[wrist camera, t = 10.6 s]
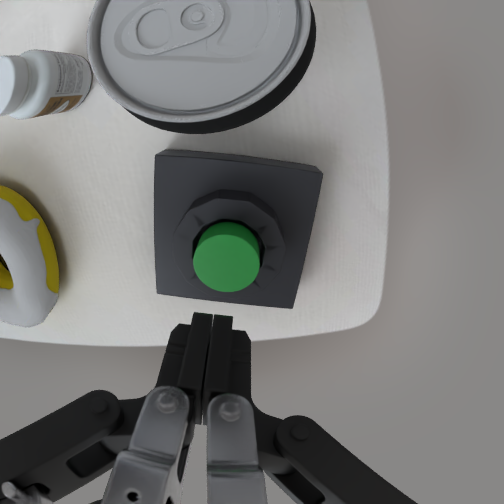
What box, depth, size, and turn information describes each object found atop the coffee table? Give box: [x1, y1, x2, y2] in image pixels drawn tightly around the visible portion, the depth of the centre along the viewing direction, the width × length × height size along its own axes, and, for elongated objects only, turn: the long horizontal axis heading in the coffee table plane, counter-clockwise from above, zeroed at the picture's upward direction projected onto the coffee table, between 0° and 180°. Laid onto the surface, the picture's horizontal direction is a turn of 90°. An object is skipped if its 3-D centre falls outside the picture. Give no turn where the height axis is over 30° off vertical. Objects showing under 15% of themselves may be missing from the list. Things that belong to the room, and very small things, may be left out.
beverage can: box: [87, 0, 316, 134], centre depth 10 cm, size 7×7×12 cm
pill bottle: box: [0, 50, 91, 119], centre depth 12 cm, size 4×4×8 cm
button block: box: [154, 150, 323, 309], centre depth 19 cm, size 10×10×4 cm
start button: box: [193, 222, 260, 292], centre depth 17 cm, size 4×4×2 cm
